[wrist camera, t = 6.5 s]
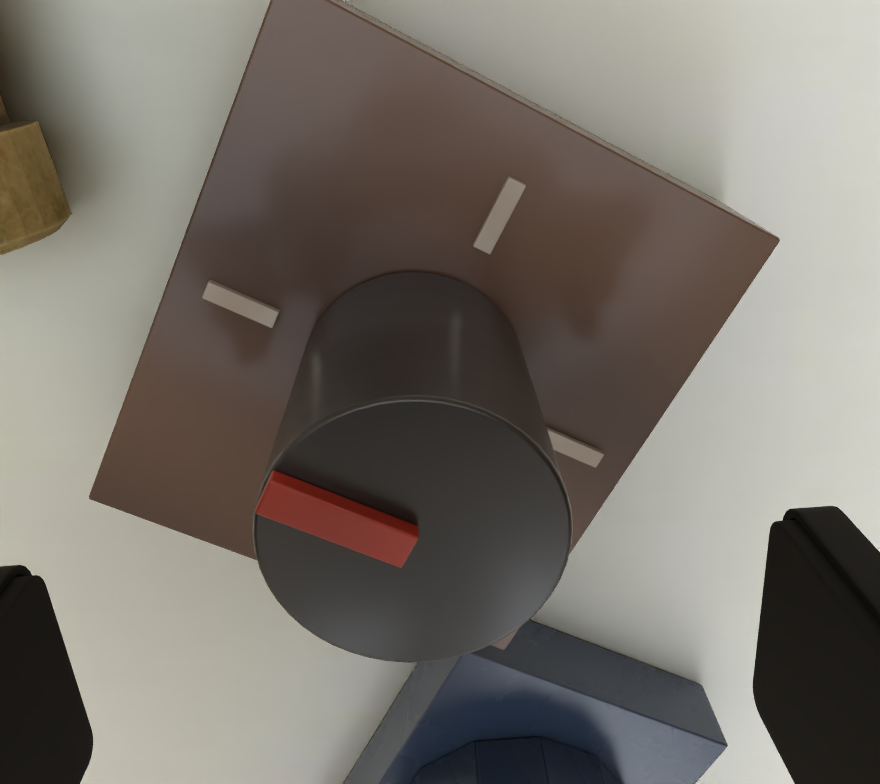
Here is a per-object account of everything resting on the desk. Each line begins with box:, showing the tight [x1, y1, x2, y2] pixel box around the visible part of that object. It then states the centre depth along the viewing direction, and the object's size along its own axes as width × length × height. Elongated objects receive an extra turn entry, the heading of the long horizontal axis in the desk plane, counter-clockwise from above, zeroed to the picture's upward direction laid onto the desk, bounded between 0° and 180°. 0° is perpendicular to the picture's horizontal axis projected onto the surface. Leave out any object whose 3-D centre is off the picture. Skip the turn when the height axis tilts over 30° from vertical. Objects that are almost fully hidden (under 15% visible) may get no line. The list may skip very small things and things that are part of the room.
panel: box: [89, 0, 780, 650], centre depth 17 cm, size 11×10×3 cm
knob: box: [253, 272, 573, 662], centre depth 13 cm, size 4×4×6 cm
